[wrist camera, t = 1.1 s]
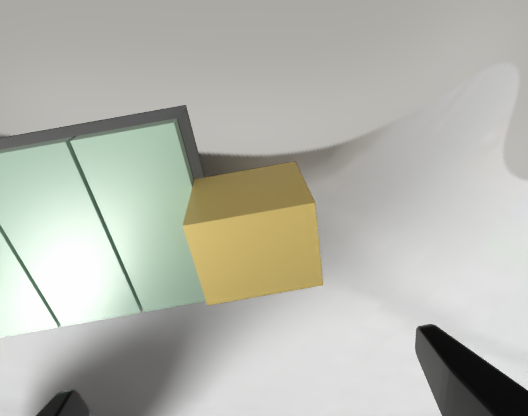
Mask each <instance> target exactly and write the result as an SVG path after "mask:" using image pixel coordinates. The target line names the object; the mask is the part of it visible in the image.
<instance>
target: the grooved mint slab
mask: <svg viewBox="0 0 528 416" xmlns="http://www.w3.org/2000/svg"><path fill="white" fill-rule="evenodd" d="M321 285H323V279H322V269H321V258H320V248H319V238H318V228H317V217H316V207H315V201H314V199H313V197H312V195H311V193H310V191H309V189H308V187H307V185H306V182H305V180H304V178H303V176H302V174H301V172H300V170H299V168H298V165H297V163H296V161H295V162H289V163H283V164H278V165H272V166H266V167H261V168H255V169H250V170H244V171H238V172H233V173H227V174H221V175H216V176H210V177H204V178H199V179H194V180H193V176H192V172H191V169H190V165H189V162H188V158H187V154H186V151H185V147H184V143H183V140H182V136H181V133H180V129H179V125H178V122H177V118H176V119H170V120H164V121H159V122H153V123H147V124H142V125H136V126H131V127H125V128H119V129H114V130H108V131H102V132H97V133H91V134H86V135H80V136H77V137H75V138H73V137H69V138H63V139H57V140H52V141H46V142H40V143H35V144H29V145H24V146H18V147H12V148H7V149H1V150H0V338H1V337H7V336H13V335H18V334H24V333H30V332H35V331H41V330H47V329H52V328H58V327H59V326H60V324H61V326H62V327H64V326H69V325H75V324H81V323H86V322H92V321H98V320H103V319H109V318H115V317H120V316H126V315H132V314H137V313H141V311H142V308H143V310H144V312H149V311H154V310H160V309H166V308H171V307H177V306H182V305H188V304H194V303H199V302H205V301H206V303H207V306H208V305H213V304H219V303H225V302H230V301H236V300H242V299H247V298H253V297H259V296H264V295H270V294H276V293H281V292H287V291H293V290H298V289H304V288H310V287H315V286H321Z"/></svg>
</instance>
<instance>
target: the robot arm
mask: <svg viewBox="0 0 528 416" xmlns="http://www.w3.org/2000/svg"><path fill="white" fill-rule="evenodd" d="M415 350H416V354H417V357H418V360H419V362H420V365H421V367H422V369H423V372H424V374H425V376H426V379H427V381H428V384H429V386H430V388H431V391H432V393H433V395H434V398H435V400H436V403H437V405H438V407H439V410H440V412H441V414H442V416H528V390H526V389H525V388H523V387H522V386H521V385H519V384H518V383H516V382H515V381H514V380H512V379H511V378H509V377H508V376H507V375H505V374H504V373H502V372H501V371H499V370H498V369H497V368H495V367H494V366H492V365H491V364H490V363H488V362H487V361H485V360H484V359H482V358H481V357H480V356H478V355H477V354H475V353H474V352H473V351H471V350H470V349H468V348H467V347H465V346H464V345H463V344H461V343H460V342H458V341H457V340H456V339H454V338H453V337H451V336H450V335H448V334H447V333H446V332H444V331H443V330H441V329H440V328H439V327H437V326H436V325H433V324H428V325H423V326H418V327H417V329H416V342H415ZM36 416H89V408H88V406H87V404H86V403H85V401H84V400H83V398H82V397H81V396H80V394H79V393H78V391H76V390H74V389H73V390H67V391H62V392H59V393H58V394H56V395H55V396H54V397H53V398H52V399H51V400H50V401H49V402H48V404H47V405H46V406H45V407H44V408H43V409H42V410H41V411H40V412H39V413H38V414H37V415H36Z"/></svg>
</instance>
